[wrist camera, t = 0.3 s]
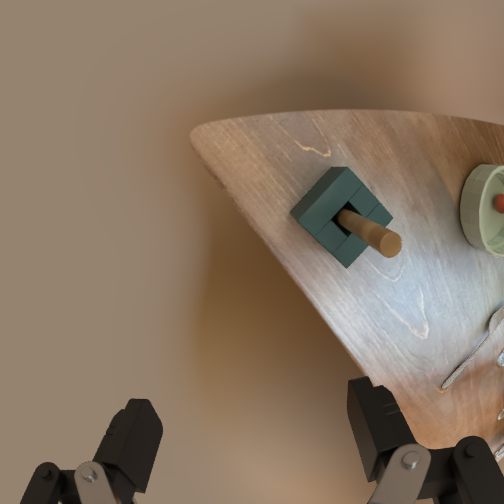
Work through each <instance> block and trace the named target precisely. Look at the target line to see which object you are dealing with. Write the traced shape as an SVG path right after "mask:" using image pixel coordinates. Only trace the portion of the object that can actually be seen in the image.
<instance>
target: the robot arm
mask: <svg viewBox="0 0 504 504" xmlns="http://www.w3.org/2000/svg"><path fill="white" fill-rule="evenodd" d="M347 412H348V418H349V421H350V424H351V427H352V431H353V434H354V437H355V440H356V443H357V447H358V450H359V453H360V457H361V460H362V464H363V467H364V470H365V474H366V477H367V480H368V482H372V481H375V480H376V482H377V487H376V489H375V491H374V492H373V494H372V496H371V498H370V500H369V501H368V503H367V504H415V501H416V500H419V499H427V498H432V499H433V502H434V504H504V476H503V474H502V472H501V470H500V468H499V466H498V464H497V462H496V460H495V458H494V456H493V454H492V452H491V450H490V448H489V446H488V444H487V443H486V441H485V440H484V439H482V438H480V437H478V436H468V437H465V438H463V439H461V440H460V441H459V442H458V443H457V444H456V446H455V447H450V448H443V449H427V448H425V447H424V446H422V445H419V444H418V443H417V442H416V440H415V438H414V436H413V434H412V432H411V430H410V428H409V426H408V424H407V422H406V420H405V418H404V416H403V414H402V412H401V411H400V408H399V406H398V404H397V403H396V400H395V398H394V396H393V394H392V392H391V391H389V390H388V389H387V388H385V387H384V386H383V385H380V386H377V387H373V385H372V383H371V381H370V379H369V377H368V376H364V377H361V378H357V379H352V380H349V381H348V396H347ZM162 434H163V426H162V423H161V420H160V419H159V417H158V415H157V413H156V412H155V410H154V408H153V406H152V405H151V402H150V401H149V400H148V399H130V400H129V401H128V404H127V405H126V407H125V409H121V410H120V411H119V412H118V413H117V414H116V415H115V416H114V417H113V419H112V421H111V423H110V425H109V428H108V429H107V431H106V435H104V437H103V439H102V441H101V444H100V446H99V448H98V450H97V452H96V454H95V456H94V458H93V460H92V461H88V462H85V463H82V464H81V465H80V466H79V467H78V468H77V469H76V470H60V469H59V468H58V467H57V466H56V465H55V464H54V463H51V462H45V463H42V464H40V465H39V466H38V467H37V468H36V470H35V472H34V474H33V476H32V478H31V480H30V482H29V484H28V487H27V489H26V491H25V493H24V495H23V498H22V500H21V502H20V504H58V502H61V503H62V504H137V502H136V500H135V498H134V497H133V496H134V493H135V492H139V493H145V491H146V488H147V484H148V481H149V478H150V474H151V471H152V467H153V464H154V461H155V457H156V454H157V451H158V448H159V444H160V441H161V438H162Z"/></svg>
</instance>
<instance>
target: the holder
mask: <svg viewBox="0 0 504 504" xmlns="http://www.w3.org/2000/svg"><path fill="white" fill-rule="evenodd" d="M343 206H344V207H345V208H346V209H348V210H351V211H353V212H355V213H357V214H359V215H361V216H363V217H365V218H367V219H369V220H371V221H373V222H375V223H377V224H379V225H381V226H383V227H386V226H387V225H388V224H389V223H390V221H391V220H392V219H393V217H392V216H391V215H390V213H389V212H388V211H387V210H386V209H385V208H384V206H383V205H382V204H381V203H380V202H379V201H378V199H377V198H376V197H375V196H374V195H373V194H372V193H371V192H370V190H369V189H368V188H367V187H366V186H365V185H364V184H363V183H362V182H361V180H360V179H359V178H358V177H357V176H356V175H355V174H354V173H353V172H352V171H351V170H350V169H349V168H348V167H331V168H330V170H329V171H328V172H327V173H326V174H325V175H324V176H323V177H322V178H321V179H320V180H319V181H318V182H317V183H316V185H315V186H314V187H313V188H312V189H311V190H310V191H309V192H308V193H307V194H306V195H305V196H304V197H303V198H302V200H301V201H300V202H299V203H298V204H297V205H296V206H295V207H294V208H293V209H292V210H291V211H290V213H291V214H292V215H293V217H294V218H295V219H296V220H297V222H298V223H300V224H301V225H302V226H303V227H304V228H305V229H306V230H307V231H308V232H309V233H310V234H311V235H312V236H313V237H314V238H315V239H316V240H317V241H319V242H320V243H321V244H322V245H323V246H324V247H325V248H326V249H327V250H328V251H329V252H330V253H331V254H332V255H333V256H334V257H335V258H336V259H337V260H338V261H339V262H340V263H341V264H342V265H343V266H344V267H345V268H348V267H349V266H350V265H351V264H352V263H353V261H354V260H355V259H356V258H357V257H358V256H359V255H360V254H361V253H362V252H363V251H364V250H365V249H366V248H367V247H368V246H369V245H368V244H367V243H366V242H364V241H363V240H361V239H360V238H359V237H357V236H356V235H354V234H353V233H352V232H350V231H349V230H347V229H346V228H345V227H343V226H342V225H340V224H339V223H337V222H336V223H335V224H334V223H333V222H332V221H331V219H332V218H333V216H334V215H335V214H336V213H337V212H338V211H339V210H340V209H341V208H342V207H343Z"/></svg>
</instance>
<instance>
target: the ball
mask: <svg viewBox="0 0 504 504" xmlns="http://www.w3.org/2000/svg"><path fill="white" fill-rule="evenodd" d="M494 207H495V209H496V211H497V212H499V213H501V214H504V194H498V195H497V196H496V197H495V199H494Z"/></svg>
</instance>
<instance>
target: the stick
mask: <svg viewBox="0 0 504 504" xmlns="http://www.w3.org/2000/svg"><path fill="white" fill-rule="evenodd" d="M332 219H333V220H334V221H336V222H337V223H339V224H340V225H342V226H343V227H345V228H346V229H347V230H349V231H350V232H352V233H353V234H354V235H356V236H357V237H359V238H360V239H361V240H363V241H364V242H366V243H367V244H368V245H370V246H371V247H372V248H374V249H375V250H376V251H378V252H379V253H380V254H382V255H383V256H385V257H387V258H391V257H394V256H396V255H397V254H398V253H399V252H400V250H401V247H402V240H401V238H400V236H399V235H398V234H397V233H395V232H393V231H391V230H389V229H387V228H385V227H383V226H381V225H379V224H377V223H375V222H373V221H371V220H369V219H367V218H365V217H363V216H361V215H359V214H357V213H355V212H353V211H351V210H348V209H346V208H344V207H342V208H341V209H340V210H339V211H338V212H337V213H336V214H335V215H334V216H333V218H332Z"/></svg>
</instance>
